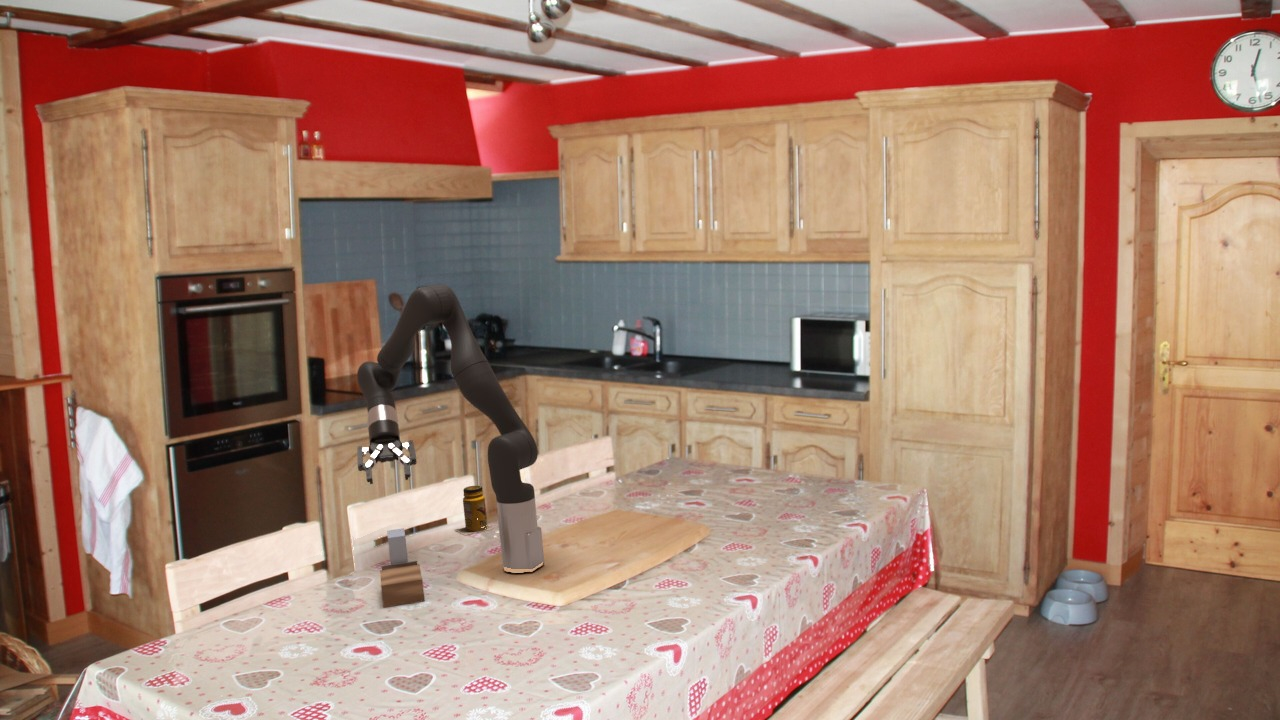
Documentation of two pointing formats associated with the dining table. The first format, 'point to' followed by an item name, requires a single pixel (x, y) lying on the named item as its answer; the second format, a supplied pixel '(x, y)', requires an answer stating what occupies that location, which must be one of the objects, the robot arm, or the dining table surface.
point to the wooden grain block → (401, 584)
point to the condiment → (474, 511)
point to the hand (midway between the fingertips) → (389, 480)
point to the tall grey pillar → (397, 546)
